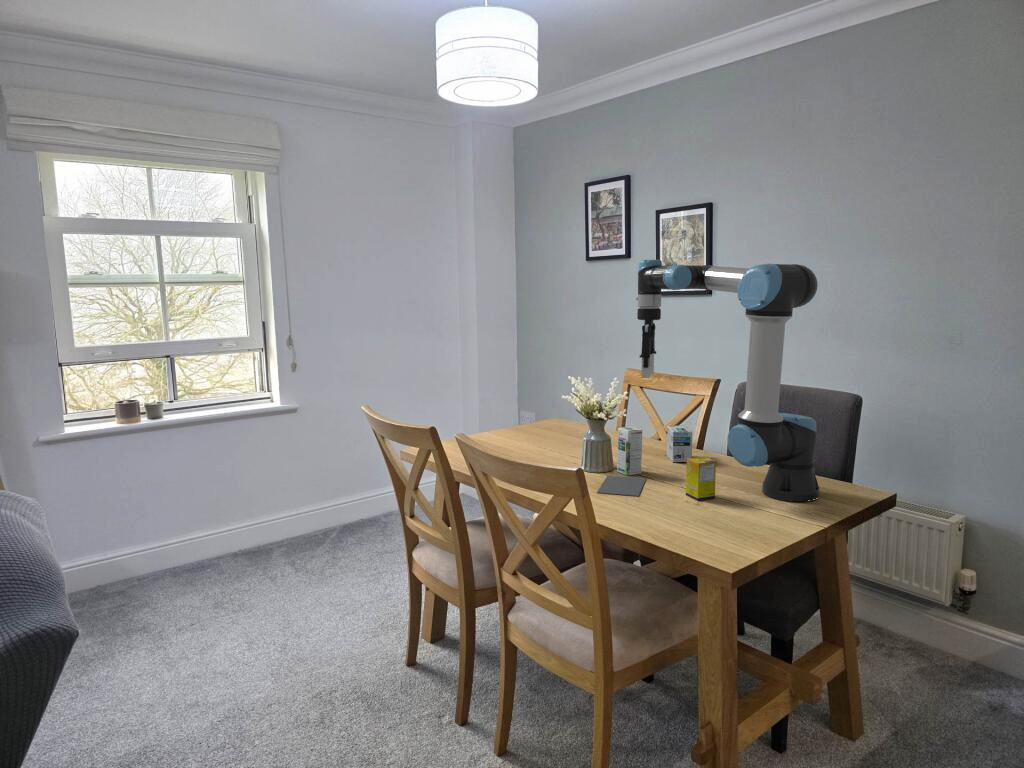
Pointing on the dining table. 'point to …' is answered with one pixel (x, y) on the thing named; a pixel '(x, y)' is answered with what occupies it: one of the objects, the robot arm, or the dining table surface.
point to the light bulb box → (679, 443)
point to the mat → (622, 486)
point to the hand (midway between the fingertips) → (647, 375)
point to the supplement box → (700, 478)
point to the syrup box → (629, 450)
